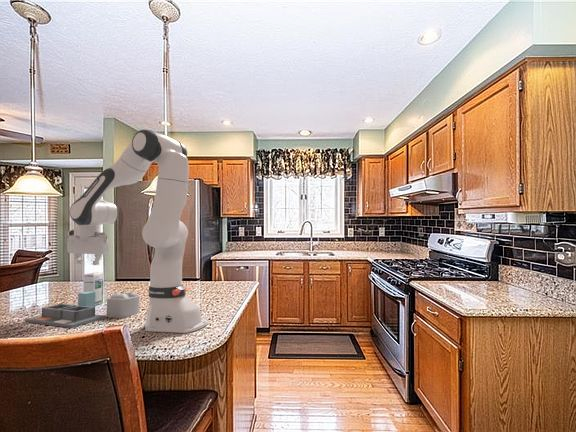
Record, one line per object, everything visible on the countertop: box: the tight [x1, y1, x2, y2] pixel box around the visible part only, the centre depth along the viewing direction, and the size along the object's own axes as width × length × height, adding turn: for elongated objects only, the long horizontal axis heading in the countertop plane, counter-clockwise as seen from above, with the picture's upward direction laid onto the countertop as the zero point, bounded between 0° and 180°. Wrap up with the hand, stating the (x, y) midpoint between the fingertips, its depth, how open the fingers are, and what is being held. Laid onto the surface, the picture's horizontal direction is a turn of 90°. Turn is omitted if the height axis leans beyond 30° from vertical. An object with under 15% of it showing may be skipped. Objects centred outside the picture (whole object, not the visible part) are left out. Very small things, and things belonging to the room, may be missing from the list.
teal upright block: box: [77, 291, 96, 308], centre depth 145 cm, size 4×4×8 cm
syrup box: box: [83, 271, 104, 306], centre depth 159 cm, size 6×6×14 cm
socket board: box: [24, 303, 106, 329], centre depth 131 cm, size 24×14×4 cm, turn 70°
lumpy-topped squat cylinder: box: [106, 291, 141, 319], centre depth 142 cm, size 10×13×9 cm
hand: (87, 264), depth 146 cm, fingers open, 8 cm apart
